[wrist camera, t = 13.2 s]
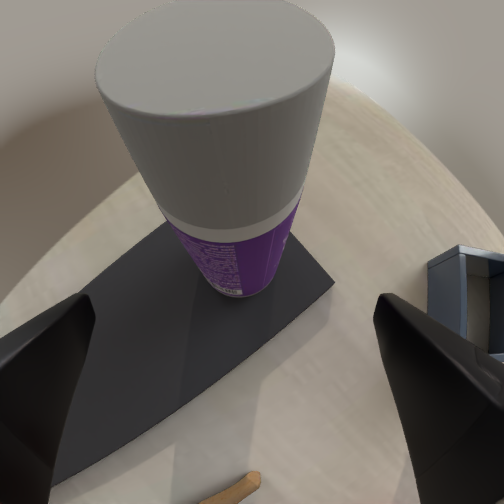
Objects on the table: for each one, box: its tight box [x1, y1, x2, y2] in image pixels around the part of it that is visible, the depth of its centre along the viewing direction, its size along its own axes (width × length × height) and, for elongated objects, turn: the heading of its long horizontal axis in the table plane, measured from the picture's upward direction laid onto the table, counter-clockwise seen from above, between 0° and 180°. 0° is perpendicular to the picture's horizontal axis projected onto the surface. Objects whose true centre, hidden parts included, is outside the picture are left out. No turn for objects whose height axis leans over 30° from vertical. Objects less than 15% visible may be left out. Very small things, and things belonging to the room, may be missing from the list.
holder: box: [427, 245, 504, 362], centre depth 16 cm, size 7×7×4 cm
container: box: [95, 0, 335, 297], centre depth 12 cm, size 5×5×15 cm
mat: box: [51, 221, 335, 487], centre depth 17 cm, size 29×10×1 cm, turn 129°
